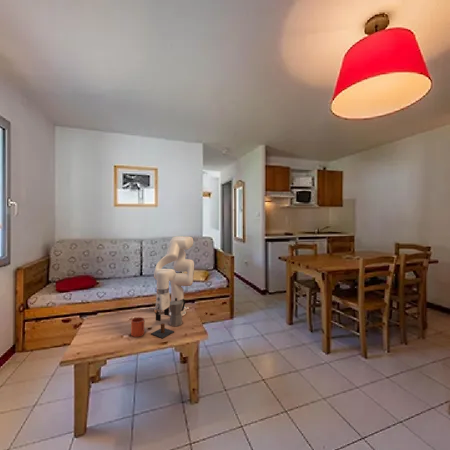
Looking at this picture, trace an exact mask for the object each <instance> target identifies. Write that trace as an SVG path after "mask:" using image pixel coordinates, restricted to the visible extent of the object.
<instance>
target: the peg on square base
mask: <svg viewBox="0 0 450 450" xmlns="http://www.w3.org/2000/svg"><path fill="white" fill-rule="evenodd" d="M165 326H166V325H165V323H161V324H160V328H159V329H157V330H155V331H153V332H150V335H151V336H155V337H157V338H160V339H162V340H163V339H164V338H166V337H169V336H171V335H172V334H174V333H175V330H172V329H169V328H166V327H165Z"/></svg>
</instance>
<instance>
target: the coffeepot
mask: <svg viewBox="0 0 450 450" xmlns="http://www.w3.org/2000/svg"><path fill="white" fill-rule="evenodd" d="M182 305H183V306H182ZM184 307H186V300H185V298H184V299H182V300H180V301H179V300H177V298H175V301H171V300H170V306H169V313H170V312H171V316H170V315H169V322H168V325H169V326H171V327H180V326H182V325H183V323H184V322H183V316H182V315H181V311H183V310H184Z"/></svg>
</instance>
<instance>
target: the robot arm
mask: <svg viewBox="0 0 450 450" xmlns="http://www.w3.org/2000/svg"><path fill="white" fill-rule="evenodd" d="M193 246H194V239H193V237H192V236H185V235H183V236H182V235H181V236H180V235H177V236H172V237H171V239H170V240H169V243H168V247H167V250H166V253H165V255H164V256H163V257H161V258H160V259H159V260H158V261H157V263H156V265H155V268H154V271H153V278H154V279H155V280H156V298H155V307H154V309H153V311H154V314H155V321H156V322H161V320H162V312H163V315H164V316H169V317H170V316H171V312H170V307H169V306H170V302H171V301H175V298H177V300H179V301H180V300H182V299H184V300H185V290H184V288H183V287H191V286H193V284H194V275H195V261H194V260H193V259H190V258H189V259H188V258H186V256H187V253H186V251H188V250H189V249H191V248H192V247H193ZM171 263H173V269H172V268H163V267H165V266H166V265H168V264H171ZM182 306H183V305H182ZM188 310H190V307H189V306H184V310H183V311H181V315H182V317H184V316H185V315H186V314H187V311H188Z"/></svg>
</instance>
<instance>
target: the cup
mask: <svg viewBox="0 0 450 450" xmlns="http://www.w3.org/2000/svg"><path fill="white" fill-rule="evenodd" d="M144 334H145V317H142V316H139V317H138V316H137V317H134V318H132V319H131V320H130V336H131V337H134V338H138V337H142V336H143V335H144Z"/></svg>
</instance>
